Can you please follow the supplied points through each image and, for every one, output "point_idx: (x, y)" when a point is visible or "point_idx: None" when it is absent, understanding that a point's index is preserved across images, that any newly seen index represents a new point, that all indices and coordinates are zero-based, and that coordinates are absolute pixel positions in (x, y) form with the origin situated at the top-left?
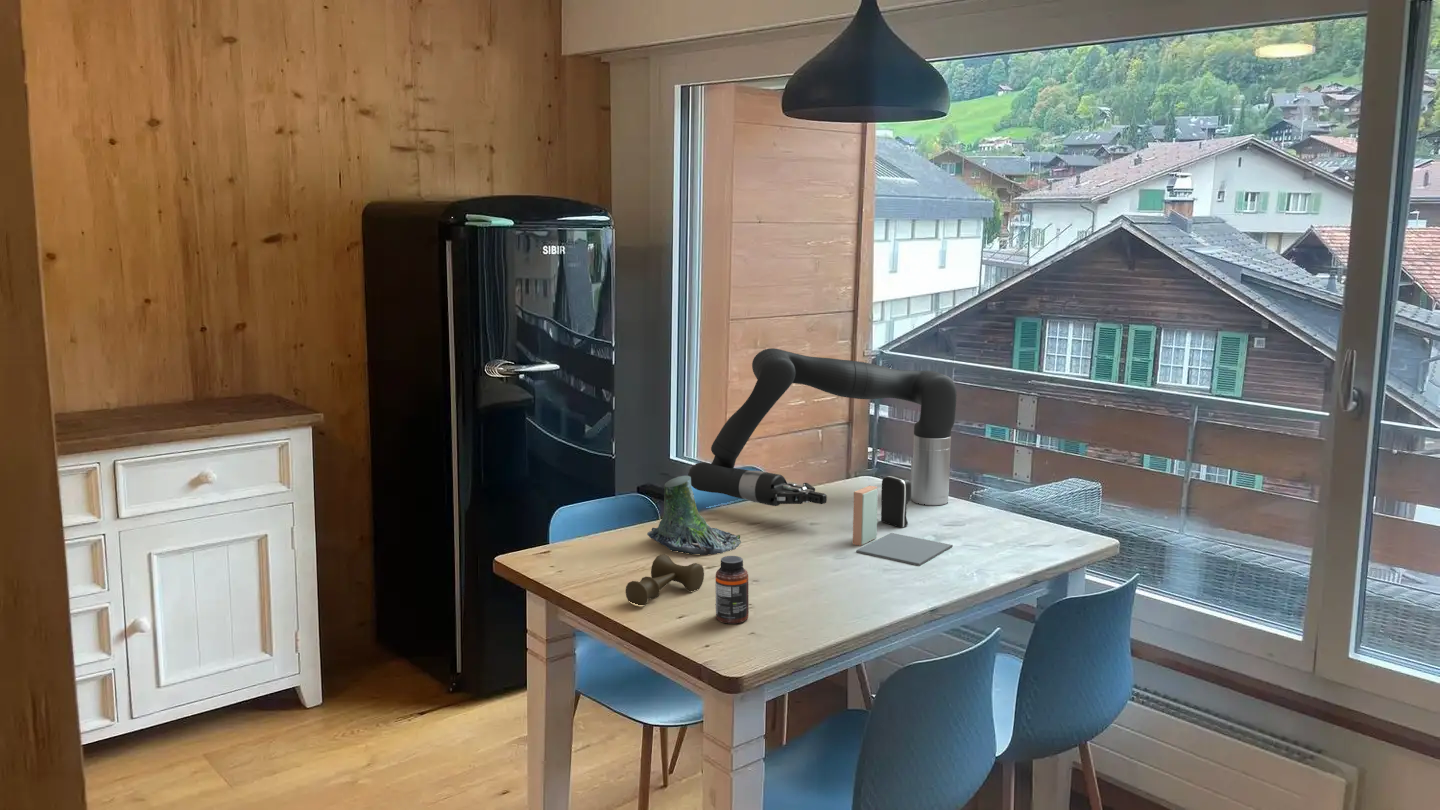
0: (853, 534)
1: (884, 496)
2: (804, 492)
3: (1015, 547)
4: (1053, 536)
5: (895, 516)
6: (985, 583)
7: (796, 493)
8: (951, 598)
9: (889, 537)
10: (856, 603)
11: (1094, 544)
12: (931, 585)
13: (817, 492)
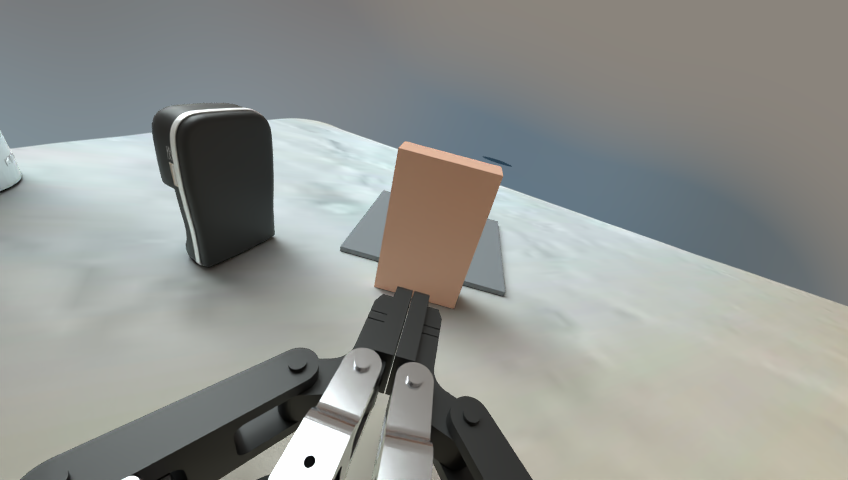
0: (461, 287)
1: (210, 189)
2: (431, 393)
3: (353, 157)
4: (291, 132)
5: (258, 221)
6: (502, 189)
7: (499, 442)
8: (569, 210)
9: (380, 248)
10: (690, 276)
11: (316, 124)
12: (552, 219)
13: (388, 321)
